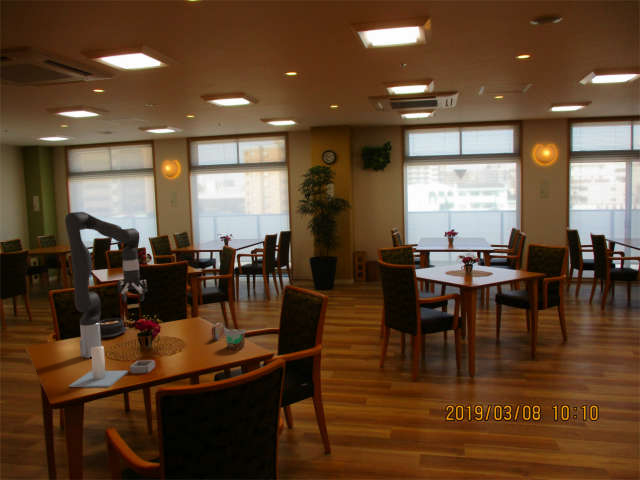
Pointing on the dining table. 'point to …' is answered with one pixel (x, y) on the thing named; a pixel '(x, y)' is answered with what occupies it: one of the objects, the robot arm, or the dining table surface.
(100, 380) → the mat
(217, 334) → the tin
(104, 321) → the casserole
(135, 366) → the cup holder
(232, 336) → the food container
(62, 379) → the dining table surface
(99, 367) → the cream tall cylinder
